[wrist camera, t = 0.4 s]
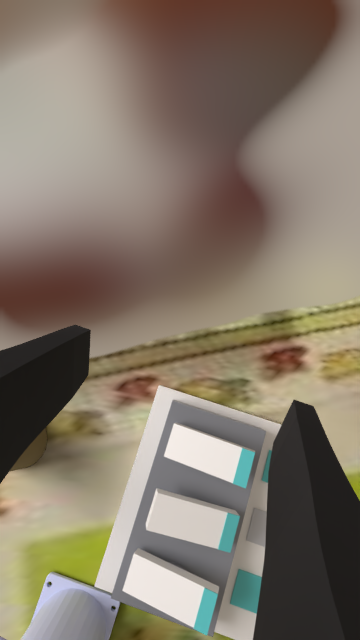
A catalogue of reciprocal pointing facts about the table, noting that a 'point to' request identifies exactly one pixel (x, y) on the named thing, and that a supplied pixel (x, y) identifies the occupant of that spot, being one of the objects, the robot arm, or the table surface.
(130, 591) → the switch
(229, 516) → the middle switch
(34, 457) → the cork
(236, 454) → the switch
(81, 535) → the table surface
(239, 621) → the switch board
